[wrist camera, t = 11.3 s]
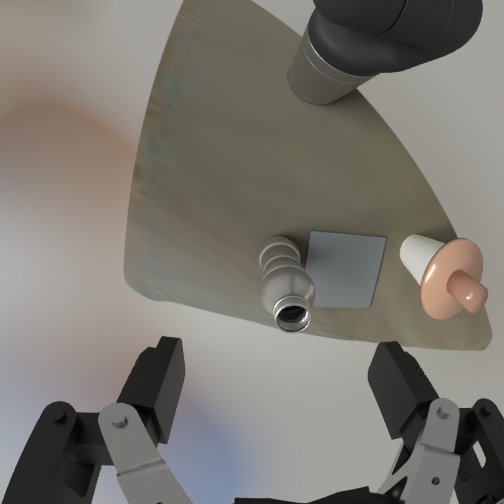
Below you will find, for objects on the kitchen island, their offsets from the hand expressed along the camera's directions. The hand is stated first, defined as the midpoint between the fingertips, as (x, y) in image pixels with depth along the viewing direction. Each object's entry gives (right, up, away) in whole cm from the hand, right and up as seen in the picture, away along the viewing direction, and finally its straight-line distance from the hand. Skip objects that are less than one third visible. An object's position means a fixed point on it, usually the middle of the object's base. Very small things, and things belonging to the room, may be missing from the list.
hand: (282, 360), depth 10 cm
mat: (+15, +1, +36) cm, 39 cm away
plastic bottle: (+3, +4, +35) cm, 36 cm away
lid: (+29, 0, +23) cm, 37 cm away
